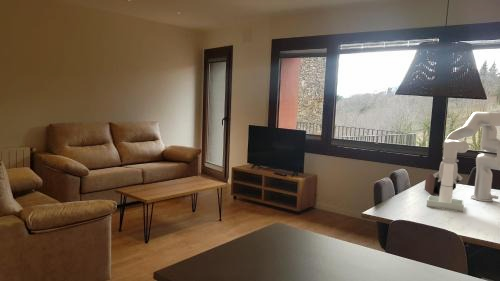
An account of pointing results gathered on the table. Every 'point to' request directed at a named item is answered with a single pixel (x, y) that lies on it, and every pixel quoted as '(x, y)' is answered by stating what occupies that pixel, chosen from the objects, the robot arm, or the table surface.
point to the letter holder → (432, 185)
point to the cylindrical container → (446, 184)
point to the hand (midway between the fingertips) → (446, 188)
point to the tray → (445, 204)
